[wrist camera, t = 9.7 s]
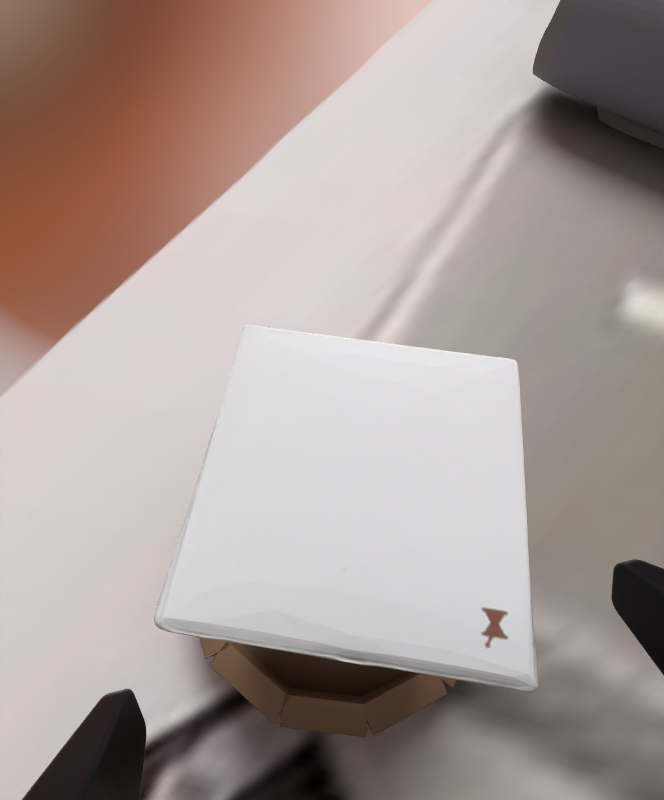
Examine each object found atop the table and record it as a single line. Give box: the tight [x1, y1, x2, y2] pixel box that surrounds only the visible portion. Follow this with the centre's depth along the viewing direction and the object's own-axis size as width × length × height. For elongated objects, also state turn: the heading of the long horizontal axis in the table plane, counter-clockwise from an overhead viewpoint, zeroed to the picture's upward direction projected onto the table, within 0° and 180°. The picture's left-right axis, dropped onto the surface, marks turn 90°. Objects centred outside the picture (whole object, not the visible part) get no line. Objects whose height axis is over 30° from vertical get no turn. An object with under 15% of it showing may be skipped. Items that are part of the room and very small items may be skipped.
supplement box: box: [154, 325, 538, 693], centre depth 15 cm, size 7×7×13 cm
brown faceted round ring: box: [200, 637, 457, 737], centre depth 20 cm, size 13×13×2 cm
